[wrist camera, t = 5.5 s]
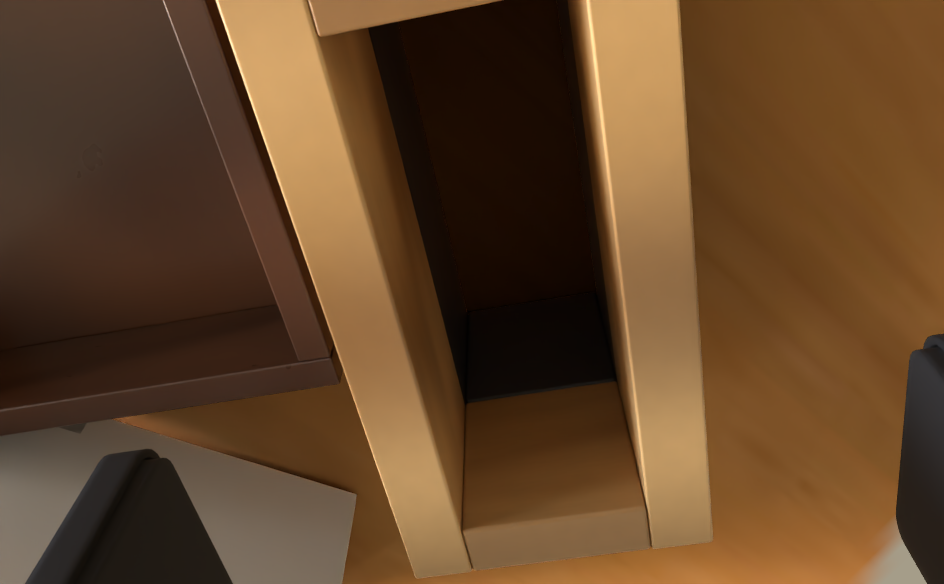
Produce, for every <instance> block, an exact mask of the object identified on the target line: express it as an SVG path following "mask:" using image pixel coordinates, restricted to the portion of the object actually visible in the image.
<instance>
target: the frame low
mask: <svg viewBox="0 0 944 584" xmlns="http://www.w3.org/2000/svg"><path fill="white" fill-rule="evenodd" d="M556 2H557V10H558V17H559V24H560V31H561V39H562V46H563V53H564V60H565V68H566V75H567V82H568V89H569V96H570V104H571V111H572V118H573V125H574V133H575V140H576V147H577V154H578V162H579V169H580V176H581V183H582V191H583V198H584V205H585V212H586V220H587V227H588V234H589V241H590V249H591V256H592V263H593V270H594V278H595V285H596V292H597V294H596V293H595V292H590V293H584V294H578V295H572V296H565V297H559V298H553V299H547V300H541V301H534V302H528V303H522V304H516V305H510V306H503V307H497V308H491V309H485V310H479V311H472V312H469V313H467V309H466V305H465V300H464V296H463V292H462V288H461V284H460V279H459V275H458V271H457V267H456V263H455V258H454V254H453V250H452V246H451V242H450V237H449V233H448V229H447V225H446V221H445V216H444V212H443V208H442V204H441V200H440V195H439V191H438V187H437V183H436V178H435V174H434V170H433V166H432V162H431V157H430V153H429V149H428V145H427V141H426V136H425V132H424V128H423V124H422V120H421V115H420V111H419V107H418V103H417V99H416V94H415V90H414V86H413V82H412V78H411V73H410V69H409V65H408V61H407V56H406V52H405V48H404V44H403V40H402V35H401V31H400V27H399V23H398V22H394V23H389V24H384V25H379V26H374V27H369V28H368V30H369V34H370V38H371V42H372V46H373V49H374V53H375V57H376V61H377V65H378V69H379V73H380V77H381V81H382V84H383V88H384V92H385V96H386V100H387V104H388V108H389V112H390V116H391V119H392V123H393V127H394V131H395V135H396V139H397V143H398V147H399V151H400V154H401V158H402V162H403V166H404V170H405V174H406V178H407V182H408V185H409V189H410V193H411V197H412V201H413V205H414V209H415V213H416V217H417V220H418V224H419V228H420V232H421V236H422V240H423V244H424V248H425V252H426V255H427V259H428V263H429V267H430V271H431V275H432V279H433V283H434V287H435V290H436V294H437V298H438V302H439V306H440V310H441V314H442V318H443V321H444V325H445V329H446V333H447V337H448V341H449V345H450V349H451V353H452V356H453V360H454V364H455V368H456V372H457V376H458V380H459V384H460V388H461V391H462V395H463V399H464V403H465V407H466V404H467V403H471V402H477V401H484V400H491V399H498V398H504V397H511V396H518V395H524V394H531V393H538V392H545V391H551V390H558V389H565V388H572V387H578V386H585V385H592V384H598V383H605V382H612V381H615V382H616V383H617V384H618V382H617V375H616V367H615V359H614V352H613V344H612V336H611V329H610V321H609V314H608V306H607V298H606V291H605V283H604V275H603V268H602V260H601V253H600V245H599V237H598V230H597V222H596V214H595V207H594V199H593V192H592V184H591V176H590V169H589V161H588V153H587V146H586V138H585V131H584V123H583V115H582V108H581V100H580V93H579V85H578V77H577V70H576V62H575V54H574V47H573V39H572V32H571V24H570V16H569V9H568V1H567V0H556Z"/></svg>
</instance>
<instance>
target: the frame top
mask: <svg viewBox="0 0 944 584" xmlns="http://www.w3.org/2000/svg"><path fill="white" fill-rule="evenodd" d="M497 1H502V0H216V3H217V6H218V9H219V12H220V15H221V18H222V21H223V24H224V26H225V29H226V32H227V35H228V38H229V41H230V44H231V47H232V50H233V52H234V55H235V58H236V61H237V64H238V67H239V70H240V73H241V76H242V78H243V81H244V84H245V87H246V90H247V93H248V96H249V99H250V102H251V104H252V107H253V110H254V113H255V116H256V119H257V122H258V125H259V128H260V130H261V133H262V136H263V139H264V142H265V145H266V148H267V151H268V154H269V156H270V159H271V162H272V165H273V168H274V171H275V174H276V177H277V180H278V182H279V185H280V188H281V191H282V194H283V197H284V200H285V203H286V206H287V208H288V211H289V214H290V217H291V220H292V223H293V226H294V229H295V232H296V234H297V237H298V240H299V243H300V246H301V249H302V252H303V255H304V258H305V260H306V263H307V266H308V269H309V272H310V275H311V278H312V281H313V284H314V286H315V289H316V292H317V295H318V298H319V301H320V304H321V307H322V310H323V312H324V315H325V318H326V321H327V324H328V327H329V330H330V333H331V336H332V338H333V341H334V344H335V347H336V350H337V353H338V356H339V359H340V362H341V364H342V367H343V370H344V373H345V376H346V379H347V382H348V385H349V388H350V390H351V393H352V396H353V399H354V402H355V405H356V408H357V411H358V414H359V416H360V419H361V422H362V425H363V428H364V431H365V434H366V437H367V440H368V442H369V445H370V448H371V451H372V454H373V457H374V460H375V463H376V466H377V468H378V471H379V474H380V477H381V480H382V483H383V486H384V489H385V492H386V494H387V497H388V500H389V503H390V506H391V509H392V512H393V515H394V518H395V520H396V523H397V526H398V529H399V532H400V535H401V538H402V541H403V544H404V546H405V549H406V552H407V555H408V558H409V561H410V564H411V567H412V570H413V572H414V575H415V577H416V578H418V579H419V578H427V577H435V576H443V575H451V574H459V573H467V572H471V571H472V567H473V569H474V570H476V571H479V570H487V569H495V568H503V567H511V566H519V565H527V564H534V563H542V562H550V561H558V560H566V559H574V558H582V557H590V556H598V555H606V554H614V553H622V552H630V551H638V550H646V549H649V548H650V546H652V548H653V549H660V548H668V547H676V546H684V545H692V544H700V543H708V542H712V541H713V528H712V512H711V497H710V481H709V465H708V449H707V433H706V417H705V401H704V385H703V369H702V353H701V337H700V321H699V306H698V290H697V274H696V258H695V242H694V226H693V210H692V194H691V178H690V162H689V146H688V130H687V114H686V99H685V83H684V67H683V51H682V35H681V19H680V3H679V0H567V1H568V9H569V16H570V24H571V32H572V39H573V47H574V54H575V62H576V70H577V77H578V85H579V93H580V100H581V108H582V115H583V123H584V131H585V138H586V146H587V153H588V161H589V169H590V176H591V184H592V192H593V199H594V207H595V214H596V222H597V230H598V237H599V245H600V253H601V260H602V268H603V275H604V283H605V291H606V298H607V306H608V314H609V321H610V329H611V336H612V344H613V352H614V359H615V367H616V375H617V382H618V384H617V383H616V382H615V381H612V382H605V383H598V384H592V385H585V386H578V387H572V388H565V389H558V390H551V391H545V392H538V393H531V394H524V395H518V396H511V397H504V398H498V399H491V400H484V401H477V402H471V403H467V404H466V407H465V403H464V399H463V395H462V391H461V388H460V384H459V380H458V376H457V372H456V368H455V364H454V360H453V356H452V353H451V349H450V345H449V341H448V337H447V333H446V329H445V325H444V321H443V318H442V314H441V310H440V306H439V302H438V298H437V294H436V290H435V287H434V283H433V279H432V275H431V271H430V267H429V263H428V259H427V255H426V252H425V248H424V244H423V240H422V236H421V232H420V228H419V224H418V220H417V217H416V213H415V209H414V205H413V201H412V197H411V193H410V189H409V185H408V182H407V178H406V174H405V170H404V166H403V162H402V158H401V154H400V151H399V147H398V143H397V139H396V135H395V131H394V127H393V123H392V119H391V116H390V112H389V108H388V104H387V100H386V96H385V92H384V88H383V84H382V81H381V77H380V73H379V69H378V65H377V61H376V57H375V53H374V49H373V46H372V42H371V38H370V34H369V30H368V28H369V27H374V26H379V25H384V24H389V23H394V22H399V21H404V20H409V19H414V18H418V17H423V16H428V15H433V14H438V13H443V12H448V11H453V10H458V9H463V8H468V7H473V6H478V5H483V4H487V3H492V2H497Z"/></svg>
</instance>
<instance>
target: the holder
mask: <svg viewBox="0 0 944 584" xmlns="http://www.w3.org/2000/svg"><path fill="white" fill-rule="evenodd" d="M342 372H343V367H342V364H341V362H340V359H339V356H338V353H337V350H336V347H335V344H334V341H333V338H332V336H331V333H330V330H329V327H328V324H327V321H326V318H325V315H324V312H323V310H322V307H321V304H320V301H319V298H318V295H317V292H316V289H315V286H314V284H313V281H312V278H311V275H310V272H309V269H308V266H307V263H306V260H305V258H304V255H303V252H302V249H301V246H300V243H299V240H298V237H297V234H296V232H295V229H294V226H293V223H292V220H291V217H290V214H289V211H288V208H287V206H286V203H285V200H284V197H283V194H282V191H281V188H280V185H279V182H278V180H277V177H276V174H275V171H274V168H273V165H272V162H271V159H270V156H269V154H268V151H267V148H266V145H265V142H264V139H263V136H262V133H261V130H260V128H259V125H258V122H257V119H256V116H255V113H254V110H253V107H252V104H251V102H250V99H249V96H248V93H247V90H246V87H245V84H244V81H243V78H242V76H241V73H240V70H239V67H238V64H237V61H236V58H235V55H234V52H233V50H232V47H231V44H230V41H229V38H228V35H227V32H226V29H225V26H224V24H223V21H222V18H221V15H220V12H219V9H218V6H217V3H216V0H0V436H4V435H11V434H17V433H24V432H30V431H37V430H43V429H50V428H56V427H63V426H69V425H76V424H82V423H89V422H95V421H102V420H108V419H115V418H121V417H128V416H134V415H141V414H147V413H154V412H160V411H167V410H173V409H180V408H186V407H193V406H199V405H206V404H212V403H219V402H225V401H232V400H238V399H245V398H251V397H258V396H264V395H271V394H277V393H284V392H290V391H297V390H303V389H310V388H316V387H322V386H329V385H335V384H339V383H340V380H341V376H342Z"/></svg>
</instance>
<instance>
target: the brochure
mask: <svg viewBox="0 0 944 584" xmlns="http://www.w3.org/2000/svg"><path fill="white" fill-rule="evenodd" d="M141 449H152V450H154V451H155V452H156V453H157V454H158V455H159V457H160V458H167V459H169V460H170V461H171V462H172V464H173V465H174V467H175V469H176V471H177V473H178V475H179V477H180V479H181V481H182V483H183V485H184V487H185V489H186V491H187V493H188V495H189V497H190V499H191V501H192V503H193V505H194V507H195V509H196V511H197V513H198V515H199V517H200V519H201V521H202V523H203V525H204V527H205V529H206V531H207V533H208V535H209V537H210V539H211V541H212V543H213V545H214V547H215V549H216V551H217V553H218V555H219V557H220V559H221V561H222V563H223V565H224V567H225V569H226V571H227V573H228V575H229V577H230V579H231V581H232V583H233V584H342V580H343V575H344V569H345V563H346V557H347V551H348V545H349V540H350V534H351V528H352V522H353V516H354V510H355V505H356V496H357V494H354V493H350V492H347V491H344V490H341V489H337V488H334V487H331V486H328V485H324V484H321V483H318V482H315V481H311V480H308V479H305V478H301V477H298V476H295V475H292V474H288V473H285V472H282V471H279V470H275V469H272V468H269V467H266V466H262V465H259V464H256V463H253V462H249V461H246V460H243V459H239V458H236V457H233V456H230V455H226V454H223V453H220V452H217V451H213V450H210V449H207V448H204V447H200V446H197V445H194V444H191V443H187V442H184V441H181V440H177V439H174V438H171V437H168V436H164V435H161V434H158V433H155V432H151V431H148V430H145V429H142V428H138V427H135V426H132V425H129V424H125V423H122V422H119V421H116V420H112V419H108V420H102V421H95V422H89V423H82V424H76V425H69V426H63V427H56V428H50V429H43V430H37V431H30V432H24V433H17V434H11V435H4V436H0V584H25V582H26V581H27V579H28V578H29V576H30V574H31V573H32V571H33V569H34V568H35V566H36V564H37V563H38V561H39V560H40V558H41V556H42V555H43V553H44V551H45V550H46V548H47V546H48V545H49V543H50V541H51V540H52V538H53V537H54V535H55V533H56V532H57V530H58V528H59V527H60V525H61V523H62V522H63V520H64V519H65V517H66V515H67V514H68V512H69V510H70V509H71V507H72V505H73V504H74V502H75V500H76V499H77V497H78V496H79V494H80V492H81V491H82V489H83V487H84V486H85V484H86V482H87V481H88V479H89V477H90V476H91V474H92V473H93V471H94V469H95V468H96V466H97V464H98V463H99V461H100V460H101V459H102V458H103V457H104V456H106V455H108V454H114V453H120V452H127V451H134V450H141Z"/></svg>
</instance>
